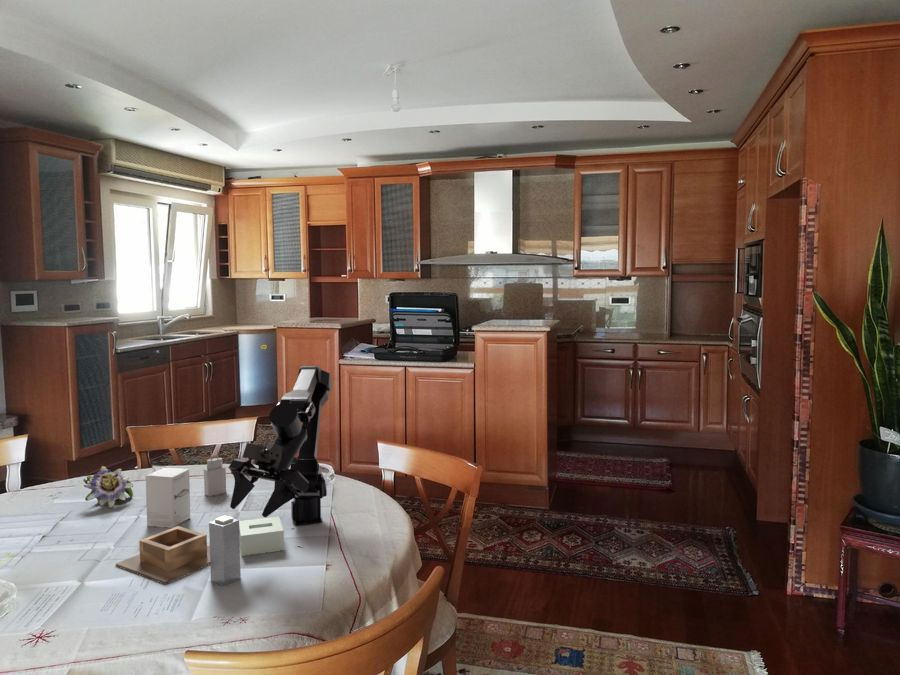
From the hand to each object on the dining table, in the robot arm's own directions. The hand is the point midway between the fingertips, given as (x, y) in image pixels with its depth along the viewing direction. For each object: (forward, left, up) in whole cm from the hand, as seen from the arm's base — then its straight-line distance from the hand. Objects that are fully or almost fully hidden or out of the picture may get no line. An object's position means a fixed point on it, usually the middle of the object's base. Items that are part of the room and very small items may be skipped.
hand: (247, 512), depth 135 cm
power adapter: (+6, -52, -12) cm, 54 cm away
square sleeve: (+15, -9, -12) cm, 21 cm away
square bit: (+5, +4, -12) cm, 13 cm away
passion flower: (+32, -53, -12) cm, 64 cm away
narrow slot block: (-3, -11, -12) cm, 17 cm away
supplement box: (+17, -33, -12) cm, 39 cm away
